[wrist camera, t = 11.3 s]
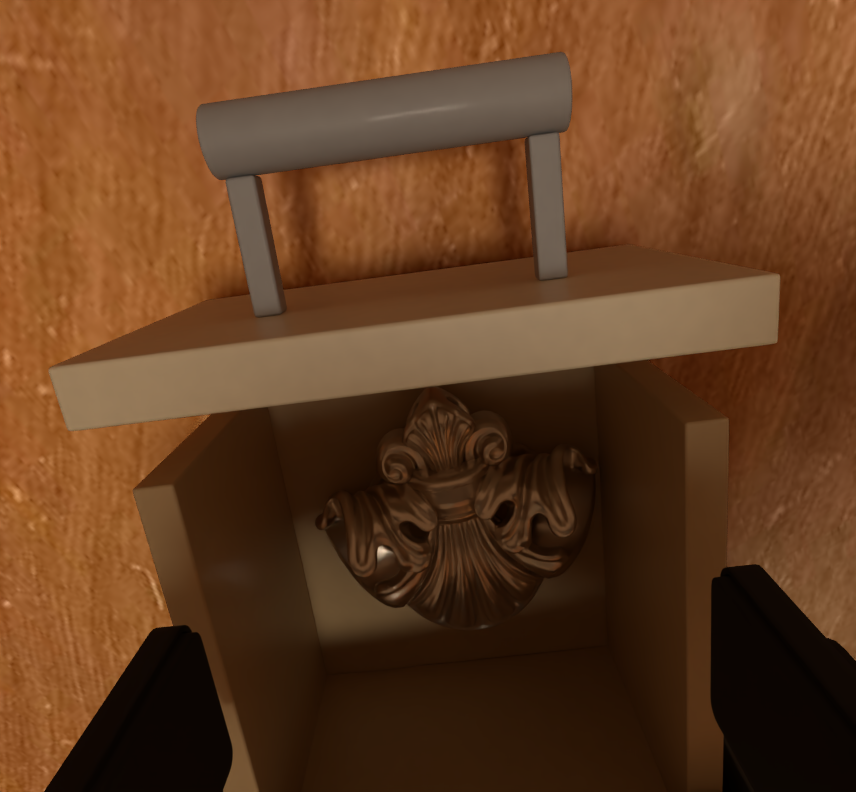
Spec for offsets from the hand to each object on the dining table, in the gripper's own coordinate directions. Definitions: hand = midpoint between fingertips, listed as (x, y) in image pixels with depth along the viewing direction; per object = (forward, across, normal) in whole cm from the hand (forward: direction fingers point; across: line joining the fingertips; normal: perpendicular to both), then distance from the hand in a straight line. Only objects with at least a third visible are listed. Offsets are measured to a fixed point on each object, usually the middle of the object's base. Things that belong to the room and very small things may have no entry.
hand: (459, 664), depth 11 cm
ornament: (+8, 0, 0) cm, 8 cm away
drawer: (+9, 0, -1) cm, 9 cm away
